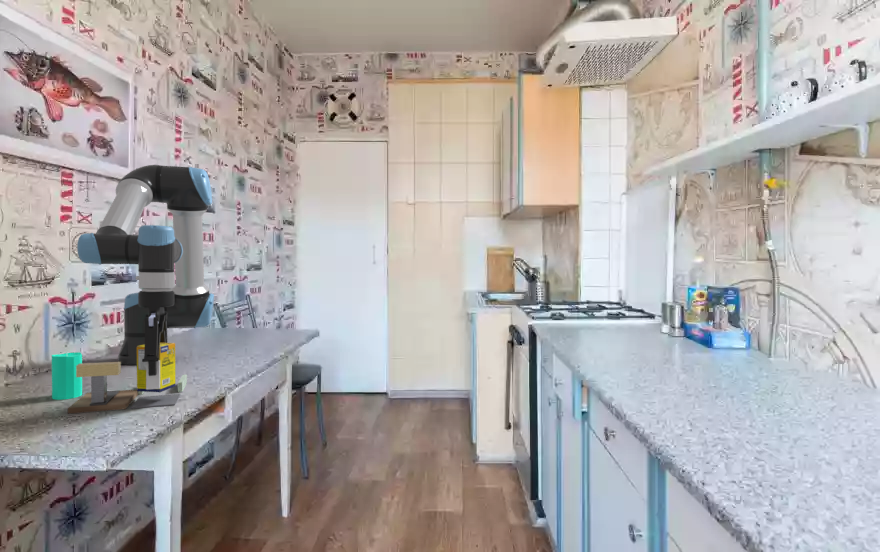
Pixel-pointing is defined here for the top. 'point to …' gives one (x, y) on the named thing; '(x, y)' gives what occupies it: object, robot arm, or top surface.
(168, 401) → the mat
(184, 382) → the clip holder
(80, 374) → the t key
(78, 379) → the candle
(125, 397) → the board
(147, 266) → the robot arm
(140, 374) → the supplement box
